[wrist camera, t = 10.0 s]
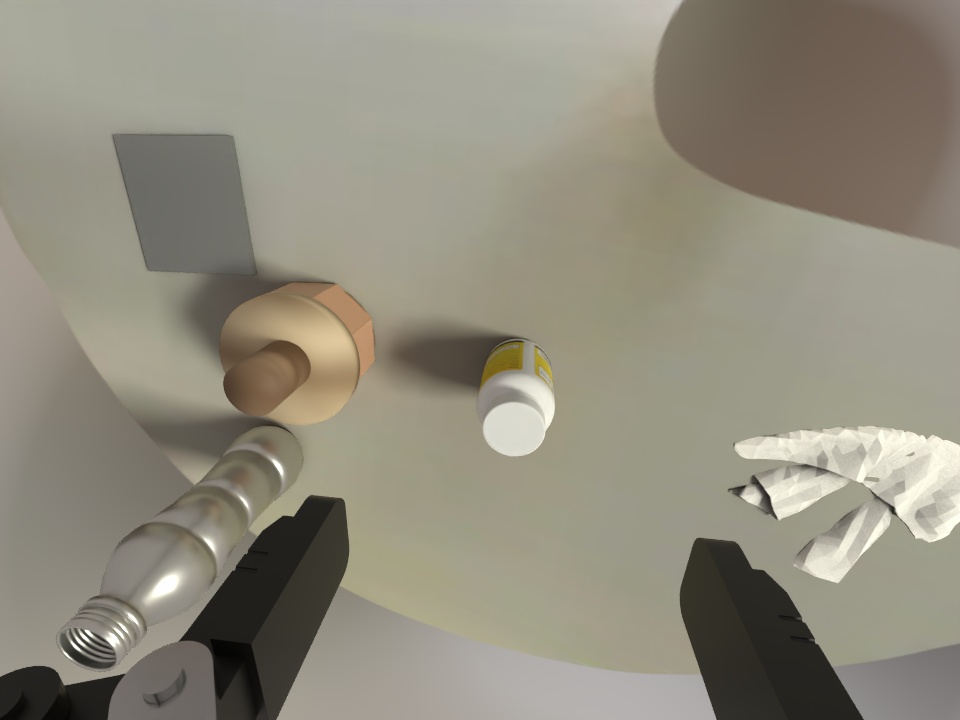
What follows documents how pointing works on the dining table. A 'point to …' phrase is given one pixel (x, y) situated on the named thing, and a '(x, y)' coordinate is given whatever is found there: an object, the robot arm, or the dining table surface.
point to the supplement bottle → (516, 397)
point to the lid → (288, 359)
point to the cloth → (851, 456)
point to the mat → (187, 202)
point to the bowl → (342, 315)
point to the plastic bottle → (181, 549)
